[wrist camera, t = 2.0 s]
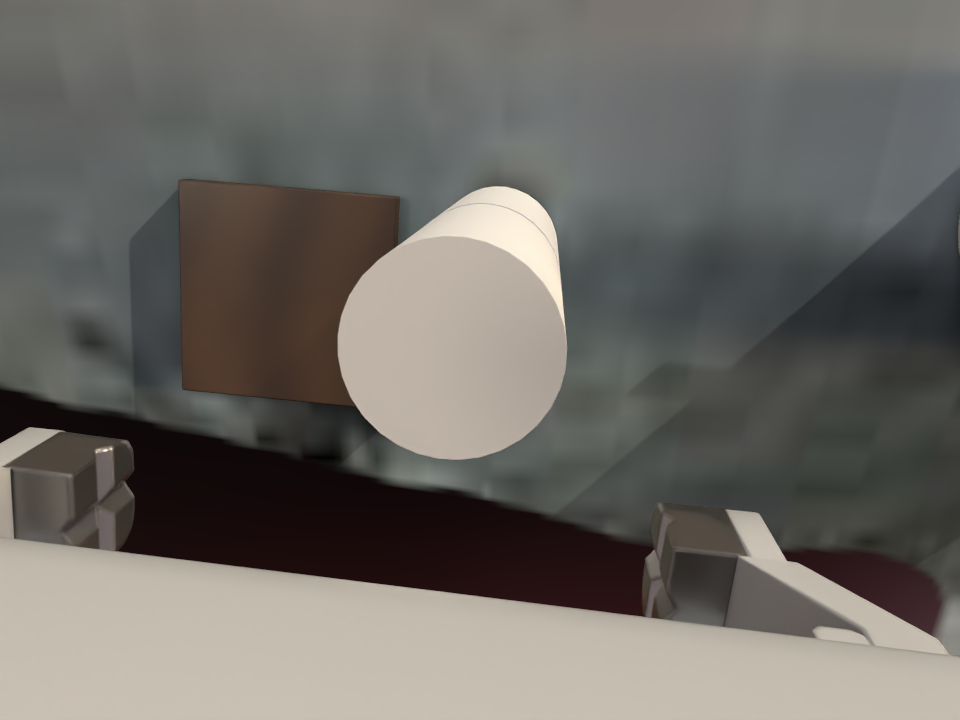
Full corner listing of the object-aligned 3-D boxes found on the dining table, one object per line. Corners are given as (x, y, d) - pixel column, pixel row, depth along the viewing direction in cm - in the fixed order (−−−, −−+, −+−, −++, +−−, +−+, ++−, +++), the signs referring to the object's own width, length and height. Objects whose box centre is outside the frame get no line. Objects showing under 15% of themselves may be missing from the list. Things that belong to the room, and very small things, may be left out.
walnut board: (400, 196, 50) (396, 198, 48) (389, 404, 53) (386, 410, 52) (186, 178, 50) (177, 179, 49) (189, 384, 54) (181, 390, 53)
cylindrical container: (566, 195, 49) (584, 253, 25) (547, 313, 51) (548, 475, 27) (445, 178, 49) (347, 220, 25) (431, 297, 51) (328, 441, 27)
